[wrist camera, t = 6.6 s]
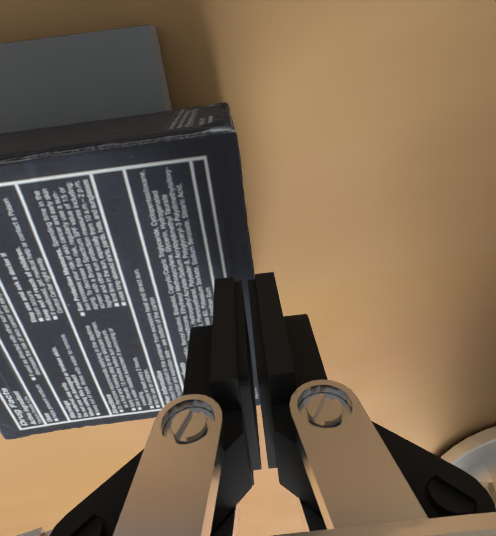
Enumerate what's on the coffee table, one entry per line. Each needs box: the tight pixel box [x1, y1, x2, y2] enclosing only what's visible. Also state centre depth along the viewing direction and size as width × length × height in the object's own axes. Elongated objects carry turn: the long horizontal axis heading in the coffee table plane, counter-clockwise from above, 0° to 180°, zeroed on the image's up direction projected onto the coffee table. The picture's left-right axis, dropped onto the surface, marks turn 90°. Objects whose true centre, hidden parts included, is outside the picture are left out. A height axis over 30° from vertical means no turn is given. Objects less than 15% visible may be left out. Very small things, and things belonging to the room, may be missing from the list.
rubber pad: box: [0, 25, 172, 134], centre depth 19 cm, size 16×12×2 cm
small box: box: [0, 102, 261, 439], centre depth 16 cm, size 11×6×10 cm
